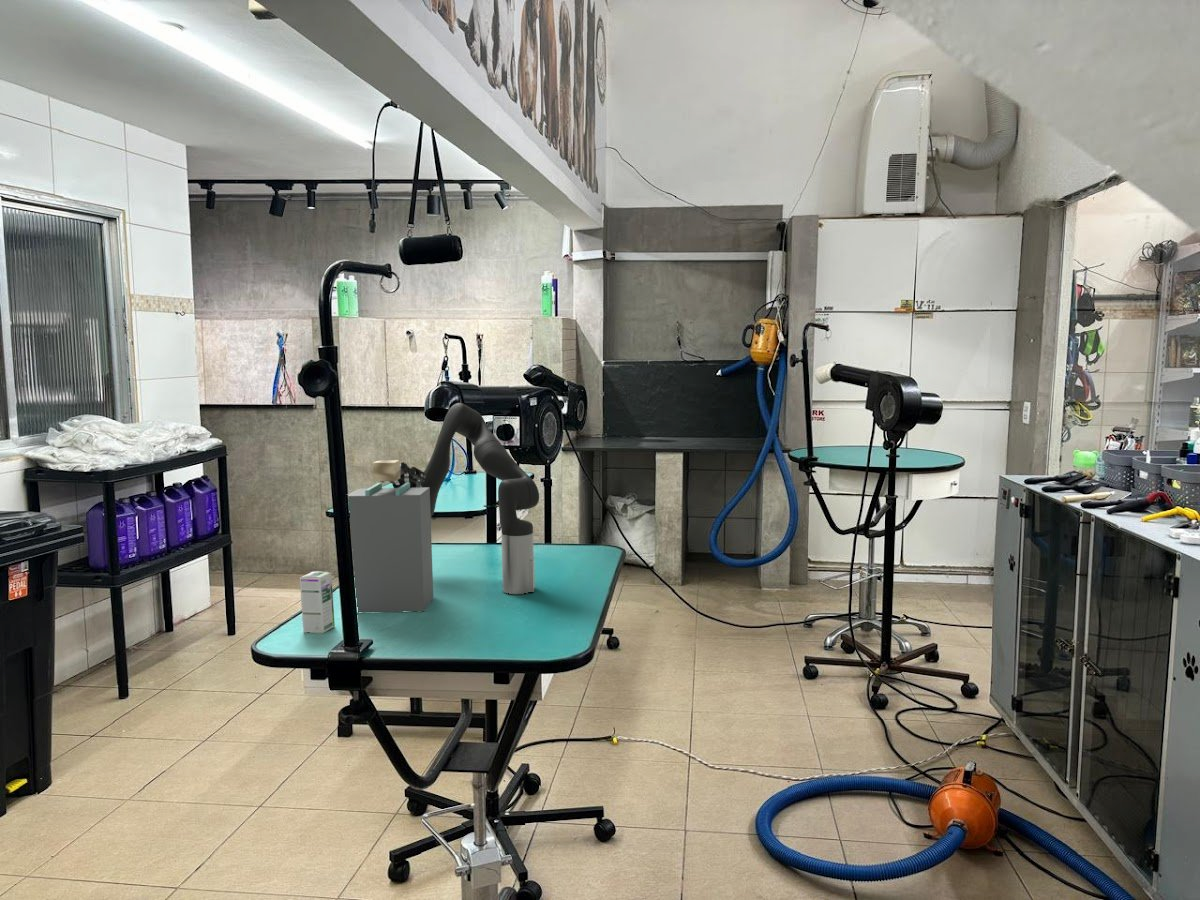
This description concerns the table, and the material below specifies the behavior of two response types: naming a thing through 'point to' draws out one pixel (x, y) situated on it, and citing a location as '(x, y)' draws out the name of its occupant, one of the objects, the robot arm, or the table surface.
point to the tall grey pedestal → (391, 548)
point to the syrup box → (317, 602)
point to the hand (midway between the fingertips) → (396, 465)
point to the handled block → (387, 470)
